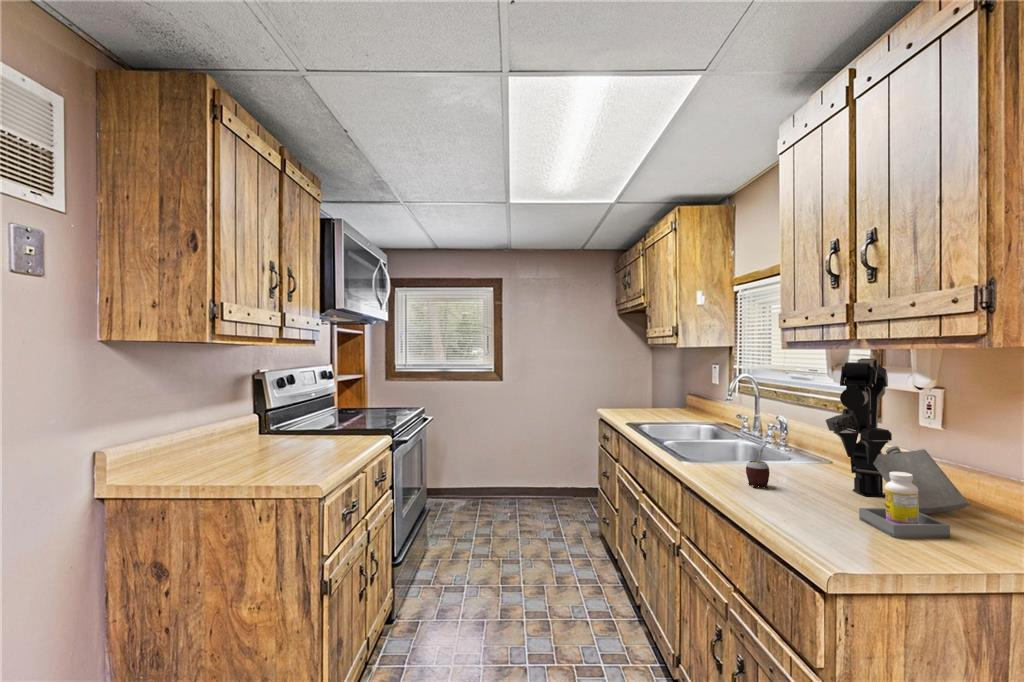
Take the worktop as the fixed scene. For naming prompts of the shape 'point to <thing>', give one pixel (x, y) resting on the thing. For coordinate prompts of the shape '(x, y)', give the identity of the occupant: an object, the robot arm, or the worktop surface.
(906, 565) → the worktop surface
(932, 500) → the hip flask
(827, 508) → the worktop surface
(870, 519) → the tray
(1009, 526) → the worktop surface
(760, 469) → the mate gourd
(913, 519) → the supplement bottle
